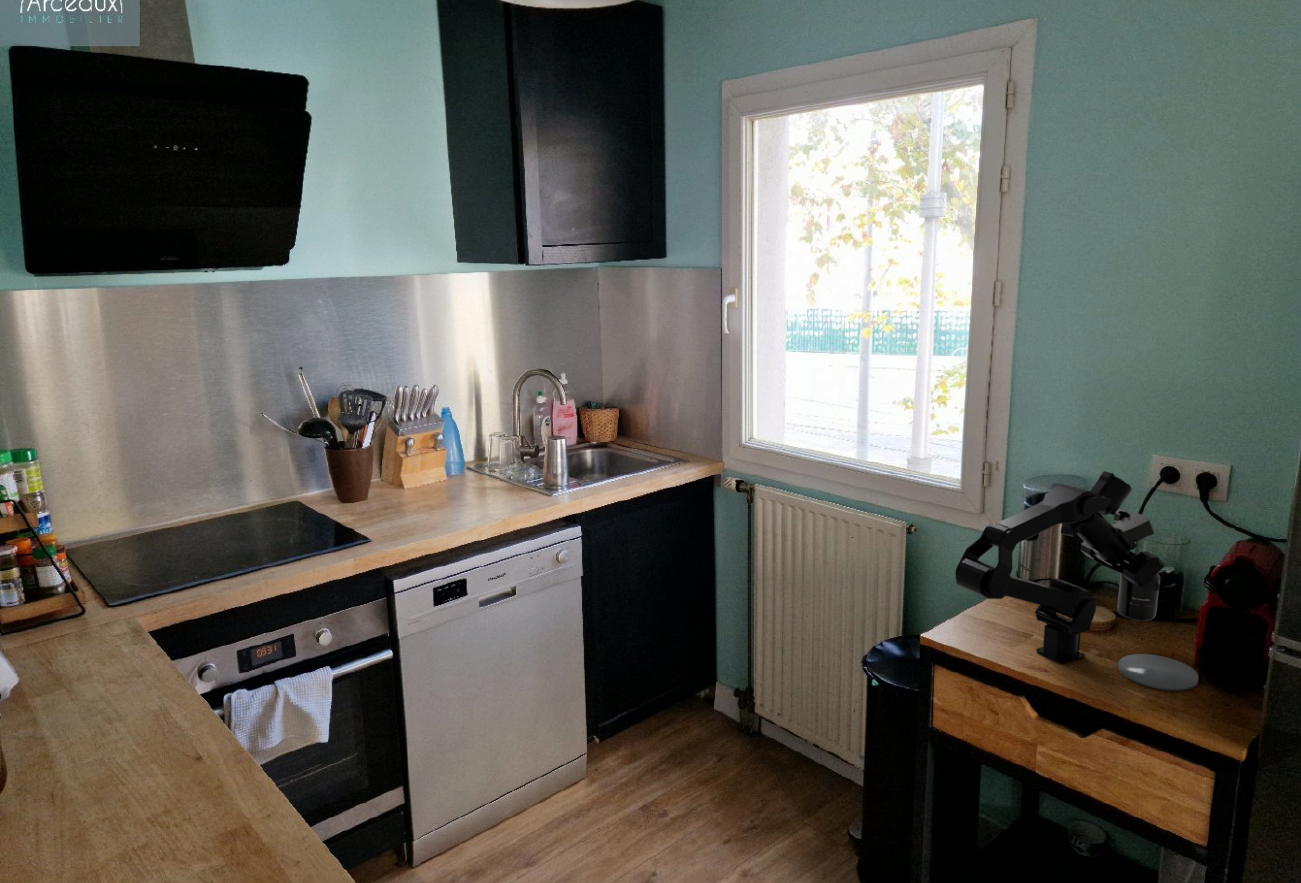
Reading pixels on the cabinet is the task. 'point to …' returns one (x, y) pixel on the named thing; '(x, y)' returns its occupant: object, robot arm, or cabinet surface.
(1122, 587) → the supplement bottle
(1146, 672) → the disc
